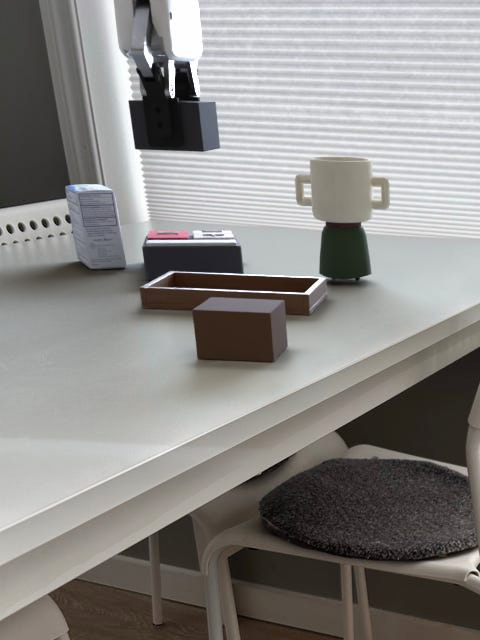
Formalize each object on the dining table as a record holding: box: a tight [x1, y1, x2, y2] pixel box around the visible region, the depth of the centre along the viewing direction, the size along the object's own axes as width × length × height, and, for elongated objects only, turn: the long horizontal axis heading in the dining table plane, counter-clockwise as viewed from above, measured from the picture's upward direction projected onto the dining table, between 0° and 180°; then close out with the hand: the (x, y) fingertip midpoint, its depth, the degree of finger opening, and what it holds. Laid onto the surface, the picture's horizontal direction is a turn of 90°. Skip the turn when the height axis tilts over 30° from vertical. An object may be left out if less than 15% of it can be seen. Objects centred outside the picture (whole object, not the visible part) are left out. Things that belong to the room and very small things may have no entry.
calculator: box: [141, 229, 245, 281], centre depth 115 cm, size 11×4×15 cm
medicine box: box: [64, 183, 127, 270], centre depth 115 cm, size 8×4×9 cm, turn 30°
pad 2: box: [191, 297, 289, 363], centre depth 81 cm, size 6×6×4 cm
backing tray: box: [138, 271, 328, 316], centre depth 100 cm, size 17×10×2 cm, turn 88°
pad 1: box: [128, 99, 221, 153], centre depth 90 cm, size 6×6×4 cm
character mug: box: [294, 156, 391, 282], centre depth 110 cm, size 11×7×13 cm, turn 85°
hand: (177, 142), depth 90 cm, fingers closed on pad 1, 5 cm apart
